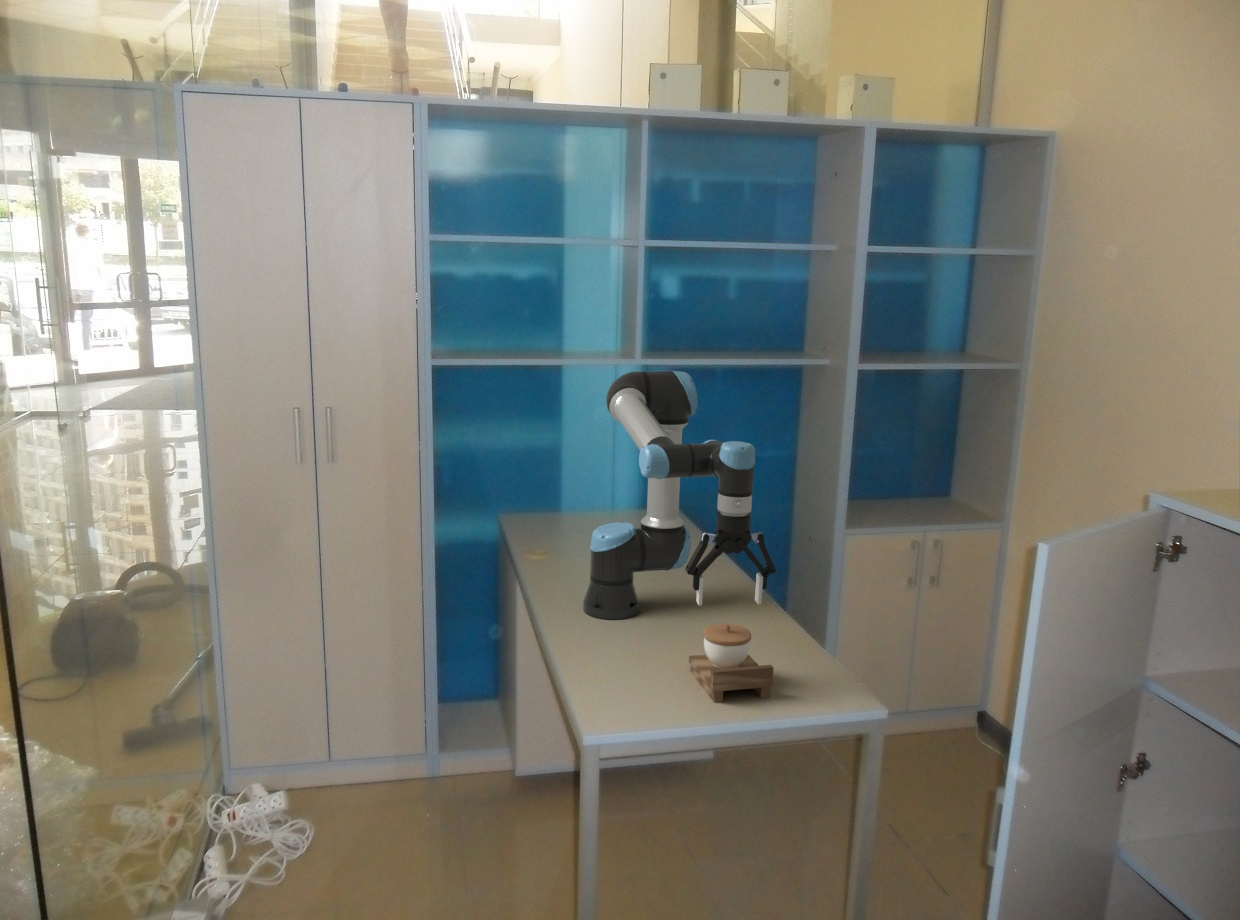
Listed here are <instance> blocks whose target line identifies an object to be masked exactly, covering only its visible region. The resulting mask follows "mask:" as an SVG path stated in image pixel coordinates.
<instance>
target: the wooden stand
mask: <svg viewBox="0 0 1240 920" xmlns="http://www.w3.org/2000/svg"><path fill="white" fill-rule="evenodd" d="M688 663H689V664H690V669H689V670H690V672H689V673H691V675H692V676H693V677H694V678H695V680H696V681H697V682H698V683H699V685H700V686H701V688H702V689H703V690H704V692H705V693H706V694H707V695H708V696H709V698H710V699H711V701H712V702H713V703H721V702H723V701H724V699H723V698H724V692H726V691H738V690H749V689H752V690H754V692H755V693H756V694H757V695H758V696H759V698H761V699H765V698H770V696H771V687H773V683H774V681H773V680H774V668H775V667H774V666H773V665H772V664H763V665H759V664H758V662H756V661H755V659H753V657H751V655H750V654H749V653H748V655H747V657H746V659H745V660H744V662H743V663H742V664H740V665H739V667H737V668H725V669H719V668H716V667H715V666H713V664H712V662H711V661H710V660H709V659H708V658H707V656H706V653H705V654H695V655H689V656H688Z"/></svg>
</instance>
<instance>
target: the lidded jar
mask: <svg viewBox="0 0 1240 920" xmlns="http://www.w3.org/2000/svg"><path fill="white" fill-rule="evenodd" d="M751 640H752V633H751V631H750V630H749V629H748V628H745V627H744V626H740V625H738V624H733V623H716V624H711V625H709V626H706V627H705V628H704V629H703V649H704V653H705V654H706V656H707V658H708V659H709V660H710V661H711V662H712V664H713V666H715V667H716V668H719V669H725V668H737V667H739V665H740V664H742V663H743V662H744V660H745V659H746V657H747V655H748V654H749V651H750V647H751Z"/></svg>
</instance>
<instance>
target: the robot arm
mask: <svg viewBox="0 0 1240 920" xmlns="http://www.w3.org/2000/svg"><path fill="white" fill-rule="evenodd" d="M605 400H606V401H605V402H606V403H605V404H606V408H607V411H608V412H609V414H610V415H611V417H612V418H613V419H614V420H615V421H616V422H618V423H620V424H621V425H622V426H623V428H624V429H625V430H626V432H627V433H628V435H629V437H630V438H631V440H632V441H633V443H634V444H635V446H636V447H637V449H638V450H639V455H638V467H639V469H640V473H641V475H642V476H643V477H644V478H646V479H647V495H646V496H647V499H646V500H647V501H646V514H645V516H644V517H642V519H641V520H640V528H636V527H635V525H634V524H633V523H631V522H626V521H625V522H620V521H618V522H617V521H616V522H610V523H605V524H603V525H602V524H601V525H599V526H597V527H596V528H595V529H594V530H593V531H592V534H591V539H590V546H589V547H590V568H589V569H590V573H589V574H590V575H589V576H590V577H589V579H590V580H589V583H588V587H587V589H586V592H585V595H584V598H583V601H582V602H583V603H582V611H583V612H584V613H585V612H586V613H585V614H587V615H588V614H589V616H590V615H591V616H590V617H593V618H597V619H601V620H602V619H604V620H624V619H628V618H631V617H634V616H635V615H637V614H638V613H639V610H640V601H639V598H638V594H637V592H636V588H635V585H634V576H635V575H634V574H635V573H640V572H641V573H642V572H655V571H657V572H658V571H671V570H677V569H681V568H683V567H684V565H686V566H685V569H684V570H685V571H686V573H687V575H689V576H691V575H692V588H693V590H694V591H696V600H695V601H696V603H697V605H698V606H701V607H702V606H703V599H704V598H703V595H704V576H703V575H702V574H704V573H705V571H706V570H707V569H709V567H710V566H711V565H712V564H713V562H715V560H716V559H717V558H718V557H720V556H721V555H723V553H725V554H728V555H730V554H740V553H742V552H744V553H745V555H746V557H748V559H749V560H750V561H751V562H752V563H753V566H755V567H756V568H757V570H758V571H759V572H756V574H755V577H756V578H755V589H754V590H755V591H754V592H755V593H754V602H755V603H757V605H762V600H763V598H762V597H763V590H766V589H767V584H768V581H767V580H768V577H769V576H770V574H775V573H777V572H776V571H777V570H776V567H775V565H774V563H773V560H772V558H771V556H770V554H769V551H768V549H767V547H766V544H765V535H764V533H762V532H761V531H759V530H758V531H756V532H754V533H751V522H752V515H751V512H752V503H753V488H754V475H755V465H756V458H755V456H756V455H755V453H756V452H755V451H756V449H755V447H754V445H753V444H752V443H750V442H744V441H738V440H736V441H735V440H734V441H733V440H730V441H725V442H722V440H717V439H708V440H706V441H703V442H702V443H683V442H682V439H683V429H684V428H685V427H686V426H687V425H688V424H689V418H690V417H692V416H693V415H695V414H696V412H697V408H698V393H697V389H696V384H695V383H694V380H693V378H692V377H691V375H690V374H689V373H688V372H685V371H681V370H680V371H678V370H653V371H652V370H651V371H649V370H647V371H638V370H637V371H634V370H633V371H630V372H626V373H624V374H621V376H618V378H616V379H615V380H614V381H613V382H612V383H611V385H610V387H609V388H608V391H607V393H606V398H605ZM682 443H683V444H682ZM698 477H702V478H703V477H715V478H718V488H717V489H718V490H717V493H718V494H717V503H716V504H717V507H716V510H718V512H717V513H716V522H715V523H716V524H715V525H716V526H715V528H716V529H715V532H714V533H707V532H706V531H703V532H701V534H700V535H701V536H700V540H699V542H698V544H697V546H696V548H695V550H694V552H693V554H692V555H691V557H690V553H691V547H692V540H691V532H690V529H689V528H687V527H686V526H684V523H685V521H684V520H683V519H682V518H681V517H680V515H679V514H680V513H679V511H680V490H681V487H680V486H681V478H698ZM712 541H715V544H714V546H713V547H712V548H711V550H710V551H709V552H708V554H706V556H704V558H703V559H702V557H703V555H704V553H705V552H706V550H707V548H708V545H710V544H711V543H712ZM752 541H753V542H754V543H755V544H757V547H758V549H759V552H760V554H761V556H762V558H763V560H764V563H765V565H766V567H764V566H763V565H762V564H761V562H760V561H759V560H758V558H757V557H756V556H755V554H754V553H753V552H752V551H751V550H750V548H749V547H748V545H750V544H749V543H751V542H752ZM689 557H690V558H689ZM701 559H702V560H701ZM688 560H689V561H688ZM686 563H687V564H686Z"/></svg>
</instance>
